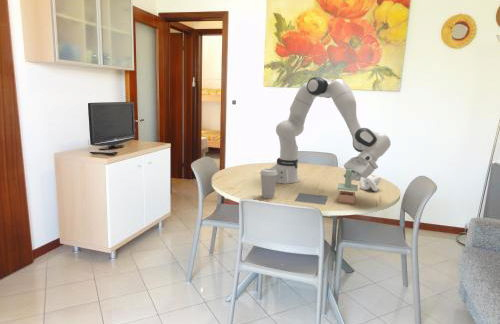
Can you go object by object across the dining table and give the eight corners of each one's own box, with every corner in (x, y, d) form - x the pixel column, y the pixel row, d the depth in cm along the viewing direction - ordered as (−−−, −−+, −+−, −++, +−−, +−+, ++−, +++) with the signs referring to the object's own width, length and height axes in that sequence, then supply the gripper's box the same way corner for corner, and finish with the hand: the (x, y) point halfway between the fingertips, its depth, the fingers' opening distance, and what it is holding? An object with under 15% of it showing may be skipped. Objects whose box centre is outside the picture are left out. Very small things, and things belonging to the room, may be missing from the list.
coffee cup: (280, 197, 194) (281, 170, 191) (269, 200, 187) (270, 173, 184) (266, 193, 200) (267, 167, 197) (255, 196, 193) (256, 169, 190)
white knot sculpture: (356, 190, 212) (357, 175, 210) (362, 186, 222) (363, 172, 220) (375, 193, 206) (377, 178, 204) (380, 189, 216) (382, 174, 214)
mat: (294, 201, 186) (294, 201, 186) (299, 193, 201) (299, 192, 201) (325, 205, 182) (325, 204, 182) (327, 196, 197) (328, 196, 197)
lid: (337, 189, 184) (338, 170, 182) (338, 184, 194) (339, 166, 192) (357, 191, 182) (359, 172, 180) (357, 186, 191) (359, 168, 189)
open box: (338, 202, 187) (338, 194, 186) (338, 198, 194) (339, 190, 193) (353, 204, 184) (354, 196, 183) (354, 200, 192) (354, 192, 191)
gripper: (352, 152, 196) (334, 169, 195) (373, 159, 176) (353, 179, 176) (359, 159, 198) (341, 177, 197) (380, 167, 178) (360, 187, 178)
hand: (347, 178), depth 186 cm, fingers closed on lid, 4 cm apart
